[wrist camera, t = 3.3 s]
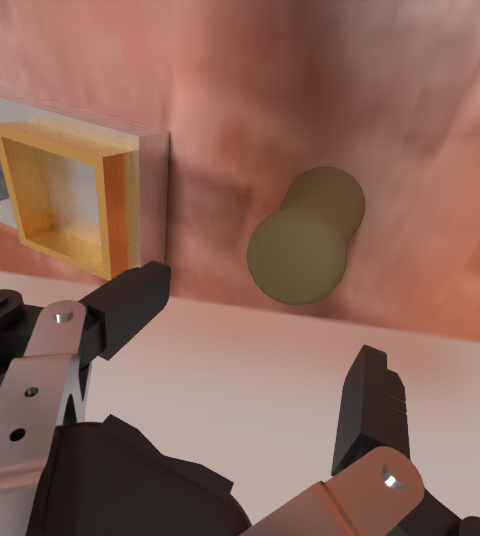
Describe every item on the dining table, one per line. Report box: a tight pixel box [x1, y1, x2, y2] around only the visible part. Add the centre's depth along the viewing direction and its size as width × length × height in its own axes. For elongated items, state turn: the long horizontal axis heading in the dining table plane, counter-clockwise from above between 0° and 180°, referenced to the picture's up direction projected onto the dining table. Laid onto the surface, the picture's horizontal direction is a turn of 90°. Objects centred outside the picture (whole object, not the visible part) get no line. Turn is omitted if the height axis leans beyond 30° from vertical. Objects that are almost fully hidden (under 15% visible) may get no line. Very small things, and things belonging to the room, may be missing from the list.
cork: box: [247, 167, 365, 305], centre depth 20 cm, size 6×6×11 cm
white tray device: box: [0, 87, 170, 281], centre depth 30 cm, size 13×25×7 cm, turn 78°
